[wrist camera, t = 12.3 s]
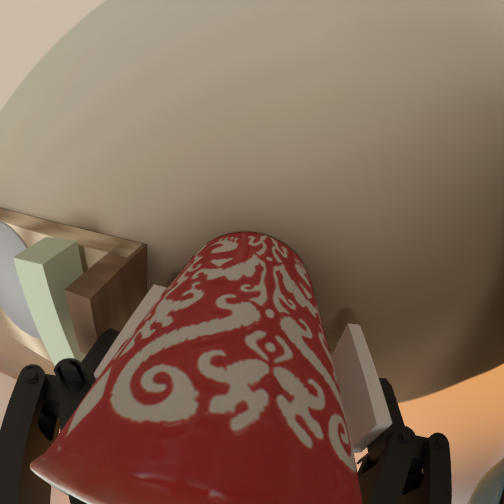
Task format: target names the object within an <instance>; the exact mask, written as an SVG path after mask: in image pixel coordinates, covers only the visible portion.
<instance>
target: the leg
mask: <svg viewBox="0 0 504 504" xmlns="http://www.w3.org/2000/svg"><path fill="white" fill-rule="evenodd" d="M13 259H14V263H15V267H16V270H17V274H18V277H19V280H20V284H21V287H22V290H23V293H24V296H25V299H26V302H27V304H28V307H29V310H30V312H31V315H32V318H33V320H34V323H35V325H36V327H37V330H38V332H39V334H40V337H41V339H42V341H43V343H44V345H45V348H46V350H47V352H48V354H49V356H50V358H51V360H52V362H53V364H54V366H55V365H56V364H57V363H58V362H59V361H61V360H63V359H66V358H74V359H77V360H78V361H80V362H82V360H83V359H84V358H85V356H86V354H84V353H81V352H80V349H79V346H78V342H77V339H76V335H75V332H74V328H73V324H72V320H71V316H70V312H69V308H68V303H67V299H66V294H65V289H66V288H67V287H68V286H69V285H70V284H72V283H73V282H74V281H75V280H76V279H77V278H78V277H80V276H81V275H82V274H83V270H82V265H81V260H80V254H79V249H78V243H77V241H75V240H67V239H60V238H52V237H45V238H43V239H41V240H40V241H38V242H37V243H35V244H33V245H32V246H30V247H28V248H27V249H25V250H24V251H22V252H21V253H19V254H17V255H16V256H14V257H13Z"/></svg>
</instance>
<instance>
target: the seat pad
mask: <svg viewBox="0 0 504 504" xmlns="http://www.w3.org/2000/svg"><path fill="white" fill-rule="evenodd" d="M27 248H28V246H27V245H26V243H25V242H24V241H23V239H22V238H21V237H20V236H19V234H18V233H17V232H16V231H15V230H14V229H13V228H12V227H11V226H9V225H8V224H6V223H4V222H2V221H0V307H1V308H2V309H3V311H4V312H5V313H6V315H7V316H8V317H9V318H10V319H11V320H12V322H13V323H14V324H15V325H16V326H18V327H19V328H20V329H21V330H22V331H24V332H25V333H27V334H28V335H30V336H32V337H35V338H39V339H41V337H40V334H39V332H38V330H37V327H36V325H35V323H34V320H33V318H32V315H31V312H30V310H29V307H28V304H27V302H26V299H25V296H24V293H23V290H22V287H21V284H20V280H19V277H18V274H17V270H16V267H15V263H14V259H13V257H14V256H16V255H17V254H19V253H21V252H22V251H24V250H25V249H27Z"/></svg>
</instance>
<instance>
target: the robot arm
mask: <svg viewBox="0 0 504 504" xmlns="http://www.w3.org/2000/svg"><path fill="white" fill-rule="evenodd" d="M166 289H167V288H166V287H162V286H158V285H155V284H154V285H153V286H152V288H151V289H150V290H149V292H148V293H147V295H146V296H145V297H144V299H143V300H142V302H141V303H140V305H139V306H138V307H137V309H136V310H135V312H134V313H133V315H132V316H131V317H130V319H129V320H128V322H127V323H126V325H125V326H124V328H123V329H122V331H121V332H119V331H116V330H114V329H111V328H110V329H108V330H106V331H105V332H103V333H102V334H101V335H100V336H99V338H98V339H97V341H96V343H94V345H93V346H92V349H90V350H89V352H88V353H87V355H86V356H85V358H84V359H83V360H82V362H80V361H78V360H77V359H74V358H66V359H63V360H61V361H59V362H58V363H57V364H56V365H55V368H54V372H55V374H56V376H55V375H49V374H45V372H44V370H43V369H42V368H41V367H40V366H38V365H33V364H31V365H28V366H26V367H24V368H23V369H22V371H21V372H20V375H19V377H18V379H17V382H16V385H15V387H14V390H13V392H12V395H11V398H10V401H9V404H8V407H7V410H6V413H5V416H4V419H3V423H2V426H1V429H0V504H50V495H51V485H50V484H49V483H47V482H46V481H44V480H43V479H42V478H40V477H39V476H38V475H36V474H35V473H34V472H33V471H32V470H31V469H30V464H31V462H32V461H33V460H35V459H36V458H38V457H39V456H41V455H42V454H44V453H45V452H46V451H47V450H48V449H49V448H50V447H51V445H52V444H53V442H54V441H55V439H56V438H57V436H58V434H59V429H60V432H61V431H62V429H63V428H64V426H65V425H66V423H67V422H68V420H69V419H70V417H71V416H72V414H73V413H74V411H75V410H76V408H77V407H78V405H79V404H80V403H81V401H82V400H83V398H84V397H85V396H86V394H87V393H88V391H89V390H90V388H91V387H92V385H93V384H94V383H95V381H96V380H97V378H98V377H99V376H100V374H101V373H102V372H103V370H104V369H105V367H106V366H107V365H108V363H109V362H110V360H111V359H112V358H113V357H114V355H115V354H116V353H117V351H118V350H119V348H120V346H121V345H122V344H123V343H124V342H125V341H126V340H127V339H128V338H129V336H130V335H131V334H132V332H133V331H134V330H135V329H136V327H137V326H138V325H139V323H140V322H141V321H142V319H143V318H144V317H145V315H146V314H147V313H148V311H149V310H150V309H151V308H152V306H153V305H154V304H155V303H156V302H157V300H158V299H159V298H160V296H161V295H162V293H163V292H164V291H165V290H166ZM331 358H332V362H333V366H334V370H335V374H336V378H337V381H338V384H339V389H340V394H341V398H342V401H343V405H344V408H345V413H346V418H347V423H348V428H349V433H350V437H351V442H352V448H353V453H357V452H362V451H363V450H364V449H365V448H366V447H367V448H368V453H367V454H366V455H365V456H364V457H362V458H361V459H360V460H359V461H358V462H357V464H359V463H360V462H362V464H361V466H360V468H359V471H358V473H357V474H358V479H359V485H360V492H361V497H362V502H363V504H451V499H452V498H451V497H452V495H451V494H452V485H451V461H450V448H449V442H448V439H447V438H446V437H445V436H444V435H443V434H441V433H434V434H433V435H431V436H430V437H429V438H426V437H420V436H416V435H415V433H414V432H413V431H412V429H410V428H409V427H407V426H405V425H404V422H403V419H402V416H401V413H400V410H399V407H398V403H397V402H396V401H397V400H396V397H395V396H394V391H393V389H392V386H391V384H390V383H389V382H388V381H387V379H386V378H378V375H377V372H376V369H375V366H374V363H373V360H372V357H371V354H370V351H369V349H368V346H367V343H366V340H365V338H364V335H363V332H362V329H361V327H360V325H357V324H350V323H348V324H347V326H346V328H345V330H344V332H343V334H342V336H341V338H340V340H339V342H338V344H337V346H336V348H335V350H334V352H333V354H332V356H331ZM422 470H423V471H422ZM69 499H70V503H71V504H87V503H85V502H83V501H81V500H79V499H77V498H75V497H73V496H72V495H70V494H69ZM468 504H504V458H503V459H502V460H500V461H499V462H498V463H497V464H496V465H494V466H493V467H492V468H491V469H490V470H489V471H488V472H487V473H486V474H485V475H484V476H483V477H482V478H481V480H480V481H479V483H478V484H477V486H476V488H475V490H474V491H473V493H472V496H471V498H470V500H469V502H468Z"/></svg>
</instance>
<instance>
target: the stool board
mask: <svg viewBox="0 0 504 504" xmlns="http://www.w3.org/2000/svg"><path fill="white" fill-rule="evenodd" d="M0 221H2V222H4V223H6V224H8V225H9V226H11V227H12V228H13V229H14V230H15V231H16V232H17V233H18V234H19V236H20V237H21V238H22V239H23V241H24V242H25V243H26V245H27V246H28V247H30V246H32V245H33V244H35V243H37V242H38V241H40V240H41V239H43V238H45V237H52V238H60V239H67V240H75V241H77V243H78V249H79V254H80V260H81V265H82V270H83V274H82V275H81V276H80V277H78V278H77V279H76V280H75V281H74V282H73V283H72V284H70V285H69V286H68V287H67V288H66V289H65V294H66V299H67V303H68V308H69V312H70V316H71V320H72V324H73V328H74V332H75V335H76V339H77V342H78V346H79V349H80V352H81V353H84V354H86V355H87V353H88V352H89V350H90V349H92V346H93V345H94V343H96V341H97V339H98V338H99V336H100V335H101V334H102V333H103V332H105V331H106V330H108V329H110V328H111V329H114V330H116V331H119V332H121V331H122V329H123V328H124V326H125V325H126V323H127V322H128V320H129V319H130V317H131V316H132V315H133V313H134V312H135V310H136V309H137V307H138V306H139V305H140V303H141V302H142V300H143V299H144V297H145V296H146V248H147V244H143V243H138V242H134V241H130V240H126V239H121V238H117V237H113V236H109V235H105V234H100V233H96V232H92V231H88V230H84V229H80V228H76V227H72V226H68V225H64V224H60V223H56V222H52V221H48V220H44V219H40V218H36V217H32V216H28V215H25V214H21V213H17V212H13V211H9V210H6V209H2V208H0ZM0 316H1V318H2V321H3V323H4V326H5V328H6V331H7V333H8V334H9V335H10V336H11V337H13V338H14V339H16V340H17V341H19V342H20V343H22V344H23V345H25V346H26V347H28V348H30V349H31V350H33V351H34V352H36V353H38V354H39V355H41V356H43V357H44V358H46V359H48V360H49V361H51V362H52V360H51V358H50V356H49V354H48V352H47V350H46V348H45V345H44V343H43V341H42V339H39V338H35V337H32V336H30V335H28V334H27V333H25V332H24V331H22V330H21V329H20V328H19V327H18V326H16V325H15V324H14V323H13V322H12V320H11V319H10V318H9V317H8V316H7V315H6V313H5V312H4V311H3V309H2V308H1V307H0Z"/></svg>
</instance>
